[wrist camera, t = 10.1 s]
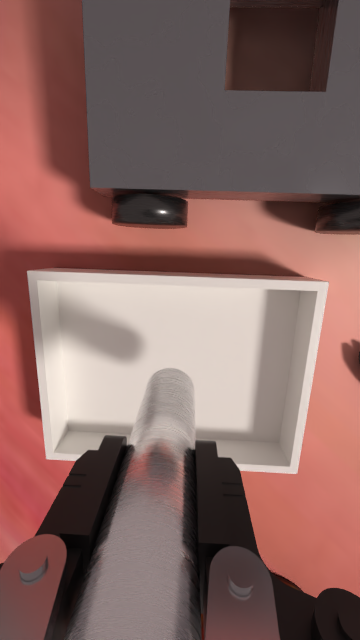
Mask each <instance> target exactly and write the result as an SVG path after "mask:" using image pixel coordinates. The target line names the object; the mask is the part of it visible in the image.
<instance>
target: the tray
mask: <svg viewBox="0 0 360 640" xmlns="http://www.w3.org/2000/svg"><path fill="white" fill-rule="evenodd" d="M27 276H28V286H29V296H30V305H31V315H32V325H33V335H34V344H35V354H36V364H37V374H38V383H39V393H40V403H41V413H42V422H43V432H44V442H45V452H46V459H52V460H69V461H76V460H77V459H79V458H80V457H81V456H82V455H83V454H84V453H85V452H86V451H87V450H98V449H99V447H100V445H101V442H102V440H103V438H104V436H105V435H113V436H126V438H127V444H128V441H129V438H130V435H131V432H132V429H133V426H134V423H135V420H136V417H137V414H138V411H139V408H140V405H141V402H142V399H143V396H144V393H145V390H146V387H147V383H148V381H149V379H150V377H151V376H152V375H153V374H154V373H156V372H157V371H159V370H161V369H165V368H175V369H179V370H181V371H183V372H185V373H186V374H187V375H188V376H189V377H190V378H191V380H192V382H193V384H194V392H195V427H196V440H205V441H216V445H217V453H218V457H228V458H232V460H233V461H234V463H235V464H236V465H237V467H238V468H239V470H240V471H256V472H273V473H290V474H297V472H298V466H299V459H300V453H301V447H302V441H303V435H304V429H305V423H306V417H307V411H308V405H309V399H310V393H311V387H312V381H313V375H314V369H315V363H316V357H317V351H318V345H319V339H320V333H321V327H322V321H323V315H324V309H325V303H326V297H327V291H328V285H329V282H327V281H322V280H318V279H313V278H308V277H296V276H268V275H241V274H213V273H186V272H159V271H131V270H104V269H77V268H47V269H38V270H29V271H27Z"/></svg>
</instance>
